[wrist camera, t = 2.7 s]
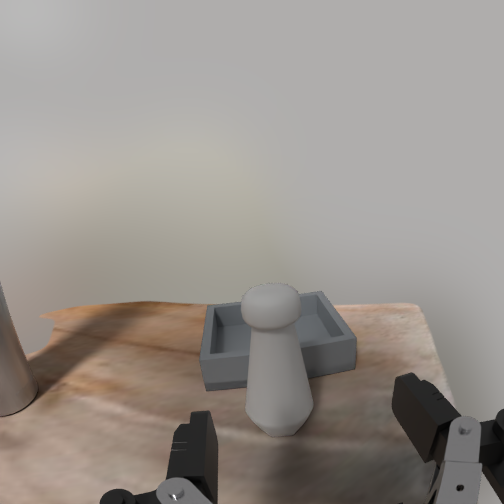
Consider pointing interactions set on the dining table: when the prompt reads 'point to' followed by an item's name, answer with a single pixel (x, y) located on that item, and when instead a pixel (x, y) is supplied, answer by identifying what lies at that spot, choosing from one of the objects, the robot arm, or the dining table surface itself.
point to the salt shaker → (275, 360)
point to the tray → (308, 331)
